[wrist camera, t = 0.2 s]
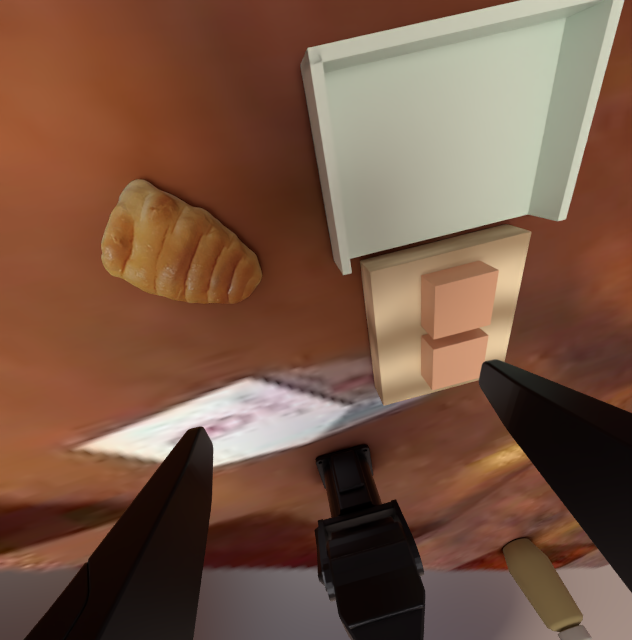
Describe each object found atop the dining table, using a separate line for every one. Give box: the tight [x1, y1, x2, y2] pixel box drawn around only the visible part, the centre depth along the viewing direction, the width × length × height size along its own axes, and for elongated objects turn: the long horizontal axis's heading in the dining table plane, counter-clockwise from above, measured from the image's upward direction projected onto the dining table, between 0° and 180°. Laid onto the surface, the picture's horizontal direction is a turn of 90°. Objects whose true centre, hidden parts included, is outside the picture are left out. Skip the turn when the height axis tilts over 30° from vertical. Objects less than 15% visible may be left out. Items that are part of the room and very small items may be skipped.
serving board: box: [360, 224, 531, 405], centre depth 25 cm, size 14×12×2 cm
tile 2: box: [421, 261, 499, 339], centre depth 21 cm, size 4×4×2 cm
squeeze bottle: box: [503, 538, 592, 640], centre depth 53 cm, size 8×8×18 cm
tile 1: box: [421, 328, 489, 390], centre depth 24 cm, size 4×4×2 cm
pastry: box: [101, 179, 262, 304], centre depth 18 cm, size 9×7×4 cm
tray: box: [300, 0, 624, 275], centre depth 18 cm, size 12×16×3 cm
